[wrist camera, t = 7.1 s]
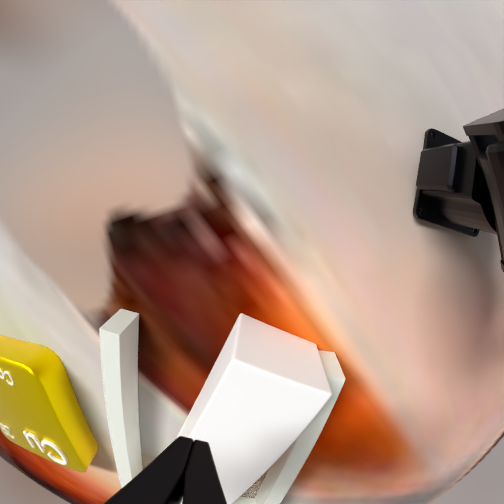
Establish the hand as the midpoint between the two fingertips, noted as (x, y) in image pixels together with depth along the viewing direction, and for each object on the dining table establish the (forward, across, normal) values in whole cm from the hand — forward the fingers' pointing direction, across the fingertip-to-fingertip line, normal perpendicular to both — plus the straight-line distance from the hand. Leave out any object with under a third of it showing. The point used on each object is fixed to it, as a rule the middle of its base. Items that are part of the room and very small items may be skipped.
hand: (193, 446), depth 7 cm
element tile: (+14, +20, +18) cm, 31 cm away
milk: (+10, -4, +2) cm, 11 cm away
